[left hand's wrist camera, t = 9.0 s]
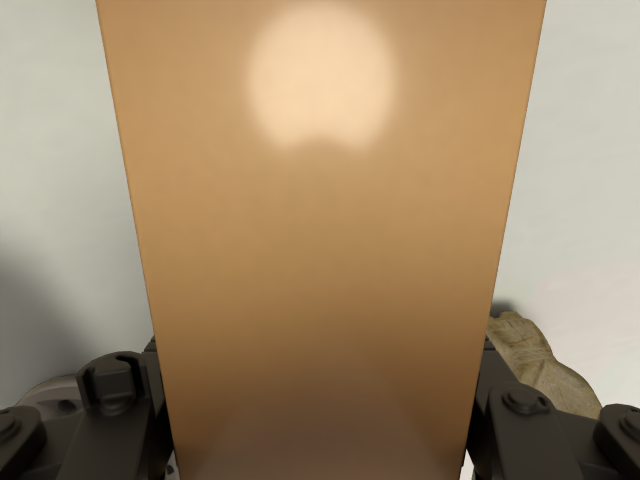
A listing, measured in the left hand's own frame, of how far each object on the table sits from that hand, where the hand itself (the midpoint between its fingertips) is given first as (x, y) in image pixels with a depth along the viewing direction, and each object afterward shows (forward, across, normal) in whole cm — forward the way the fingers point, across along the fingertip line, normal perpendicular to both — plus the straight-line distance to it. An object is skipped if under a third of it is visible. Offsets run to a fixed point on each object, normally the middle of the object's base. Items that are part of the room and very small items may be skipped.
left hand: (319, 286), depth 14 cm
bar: (+1, 0, -10) cm, 10 cm away
